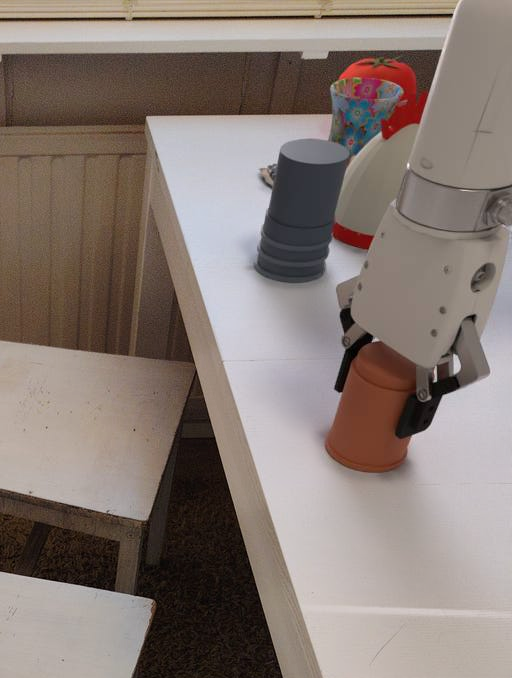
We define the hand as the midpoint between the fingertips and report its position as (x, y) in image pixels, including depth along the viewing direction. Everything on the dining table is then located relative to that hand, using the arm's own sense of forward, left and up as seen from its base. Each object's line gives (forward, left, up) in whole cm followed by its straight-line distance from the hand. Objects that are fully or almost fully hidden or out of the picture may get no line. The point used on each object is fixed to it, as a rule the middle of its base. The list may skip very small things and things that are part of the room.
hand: (379, 408), depth 72 cm
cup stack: (+2, -36, -4) cm, 36 cm away
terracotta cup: (0, 0, -4) cm, 4 cm away
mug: (-11, -64, -4) cm, 65 cm away
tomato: (-15, -79, -4) cm, 80 cm away
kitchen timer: (-11, -47, -4) cm, 48 cm away
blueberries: (-1, -62, -4) cm, 62 cm away
